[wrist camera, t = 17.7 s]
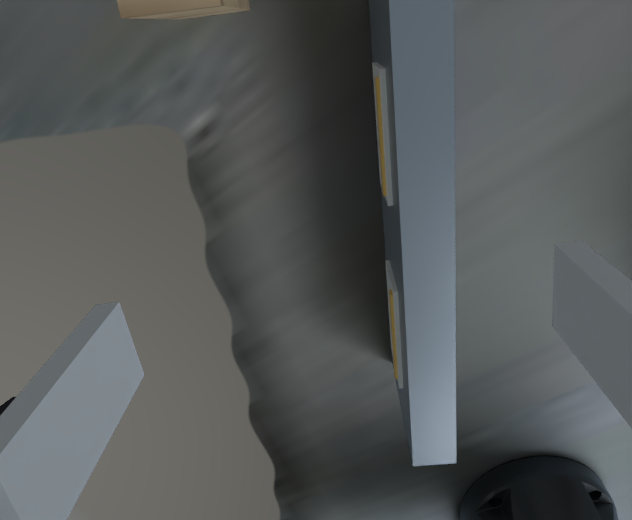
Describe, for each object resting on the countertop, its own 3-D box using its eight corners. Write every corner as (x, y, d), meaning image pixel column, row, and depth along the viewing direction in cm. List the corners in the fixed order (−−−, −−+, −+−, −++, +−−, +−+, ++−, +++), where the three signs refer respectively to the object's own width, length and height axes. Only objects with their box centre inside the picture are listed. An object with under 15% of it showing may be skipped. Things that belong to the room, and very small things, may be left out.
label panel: (425, 360, 47) (456, 463, 36) (387, 363, 47) (405, 466, 36) (413, -11, 34) (454, -27, 24) (360, -4, 35) (377, -17, 24)
